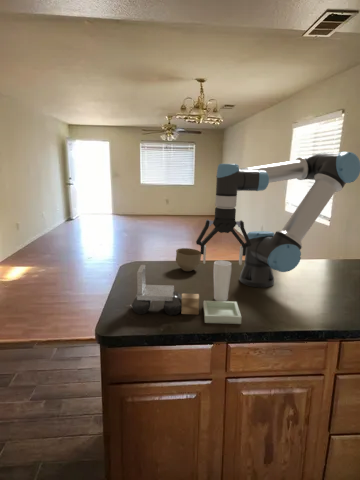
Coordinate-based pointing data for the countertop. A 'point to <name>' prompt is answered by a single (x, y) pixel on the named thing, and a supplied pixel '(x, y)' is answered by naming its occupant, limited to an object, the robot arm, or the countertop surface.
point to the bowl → (188, 258)
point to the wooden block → (190, 304)
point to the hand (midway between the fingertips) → (222, 263)
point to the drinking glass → (221, 279)
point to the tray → (221, 312)
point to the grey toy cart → (155, 296)
